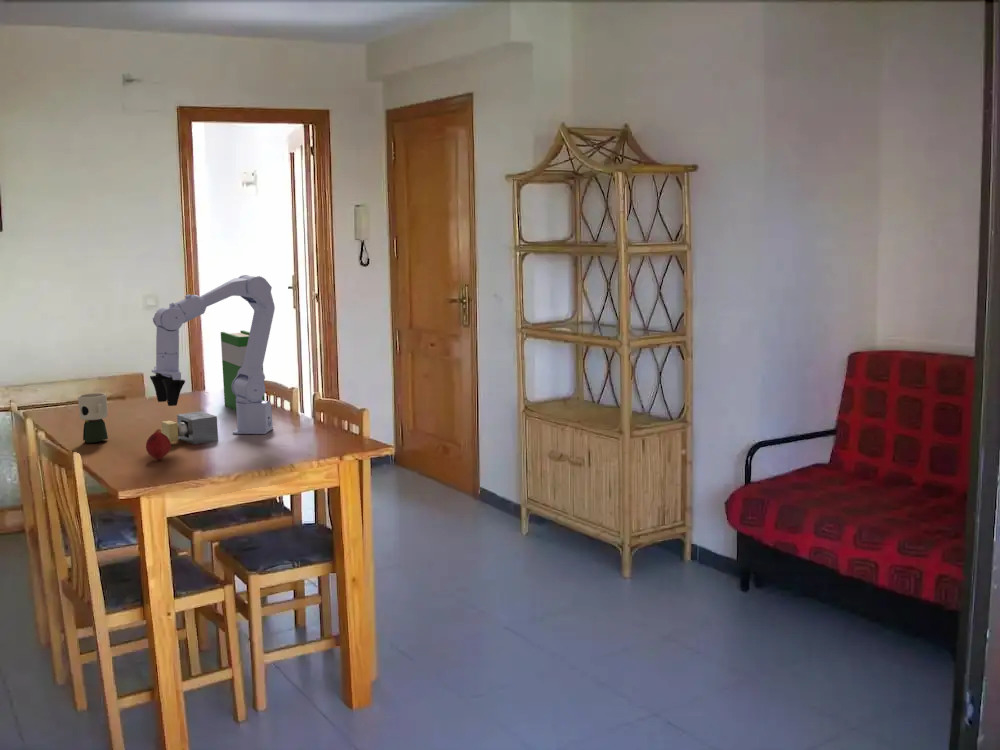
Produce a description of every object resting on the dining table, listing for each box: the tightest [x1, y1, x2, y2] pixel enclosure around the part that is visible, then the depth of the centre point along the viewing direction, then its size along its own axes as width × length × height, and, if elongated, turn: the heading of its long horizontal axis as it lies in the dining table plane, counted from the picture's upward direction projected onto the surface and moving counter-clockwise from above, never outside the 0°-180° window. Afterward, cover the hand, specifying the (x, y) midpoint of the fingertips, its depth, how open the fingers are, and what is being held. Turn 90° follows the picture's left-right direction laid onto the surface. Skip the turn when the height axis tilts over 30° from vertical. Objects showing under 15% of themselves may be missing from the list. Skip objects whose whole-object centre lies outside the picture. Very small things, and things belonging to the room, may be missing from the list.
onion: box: [145, 428, 172, 461], centre depth 245 cm, size 6×6×8 cm
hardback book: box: [220, 330, 266, 412], centre depth 311 cm, size 18×7×24 cm, turn 33°
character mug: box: [77, 392, 109, 444], centre depth 266 cm, size 11×7×13 cm, turn 43°
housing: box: [176, 410, 219, 445], centre depth 267 cm, size 7×10×7 cm
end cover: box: [161, 420, 189, 443], centre depth 264 cm, size 8×5×5 cm, turn 131°
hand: (167, 403), depth 262 cm, fingers open, 7 cm apart
